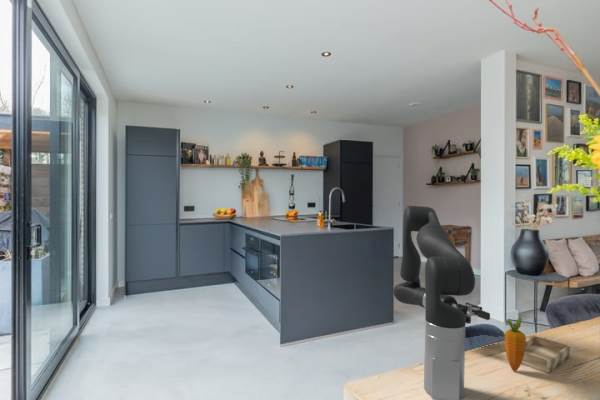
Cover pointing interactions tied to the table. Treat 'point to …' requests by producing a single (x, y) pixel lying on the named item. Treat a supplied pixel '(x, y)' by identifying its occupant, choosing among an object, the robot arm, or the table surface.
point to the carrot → (515, 344)
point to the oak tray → (544, 354)
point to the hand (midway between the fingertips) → (479, 318)
